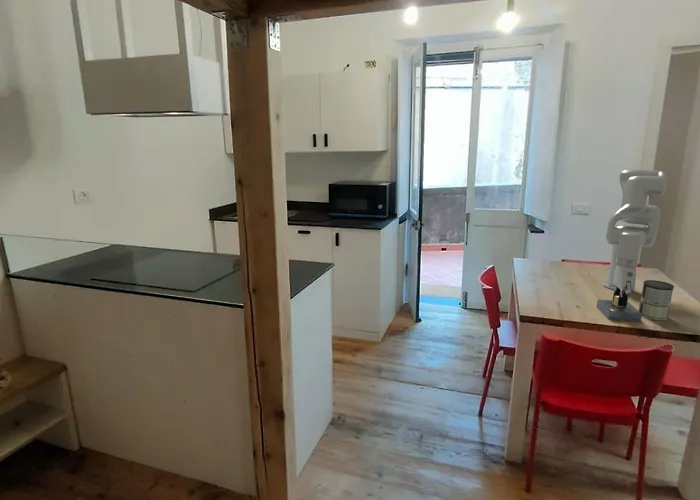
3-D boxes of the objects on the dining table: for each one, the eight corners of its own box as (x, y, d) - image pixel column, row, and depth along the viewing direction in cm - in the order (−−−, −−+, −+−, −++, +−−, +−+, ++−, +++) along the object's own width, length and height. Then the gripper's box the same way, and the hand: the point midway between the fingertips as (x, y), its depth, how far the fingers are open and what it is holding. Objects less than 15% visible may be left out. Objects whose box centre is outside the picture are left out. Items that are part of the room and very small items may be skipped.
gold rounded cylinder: (620, 313, 182) (623, 295, 180) (624, 316, 178) (627, 298, 176) (610, 312, 183) (613, 294, 181) (613, 315, 179) (616, 297, 177)
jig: (596, 306, 188) (597, 299, 187) (626, 309, 185) (627, 301, 185) (608, 318, 175) (609, 310, 174) (640, 321, 172) (642, 313, 171)
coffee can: (632, 310, 184) (637, 279, 180) (655, 310, 184) (661, 279, 181) (649, 320, 174) (655, 287, 170) (673, 320, 174) (680, 287, 171)
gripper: (646, 268, 166) (637, 311, 170) (628, 257, 182) (621, 297, 186) (624, 266, 167) (617, 310, 172) (609, 256, 183) (602, 296, 188)
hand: (619, 303), depth 179 cm, fingers open, 4 cm apart
